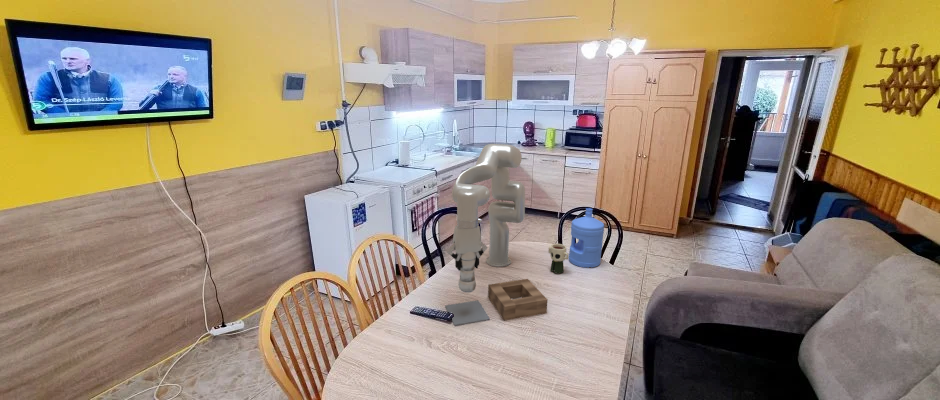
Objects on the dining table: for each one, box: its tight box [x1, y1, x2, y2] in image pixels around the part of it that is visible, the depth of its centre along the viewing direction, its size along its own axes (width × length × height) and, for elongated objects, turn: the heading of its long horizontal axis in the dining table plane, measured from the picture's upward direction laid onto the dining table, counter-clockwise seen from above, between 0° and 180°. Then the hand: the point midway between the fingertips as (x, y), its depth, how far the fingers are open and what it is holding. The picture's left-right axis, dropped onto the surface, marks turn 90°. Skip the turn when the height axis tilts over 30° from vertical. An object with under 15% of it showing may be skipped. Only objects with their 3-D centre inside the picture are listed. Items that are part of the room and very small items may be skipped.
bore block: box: [487, 278, 548, 322], centre depth 162 cm, size 18×18×6 cm
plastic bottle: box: [458, 252, 477, 293], centre depth 150 cm, size 6×7×20 cm
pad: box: [445, 299, 491, 327], centre depth 156 cm, size 14×14×1 cm
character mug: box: [548, 243, 569, 274], centre depth 190 cm, size 11×7×13 cm, turn 44°
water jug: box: [568, 207, 605, 269], centre depth 199 cm, size 16×16×28 cm
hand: (467, 267), depth 151 cm, fingers closed on plastic bottle, 6 cm apart
